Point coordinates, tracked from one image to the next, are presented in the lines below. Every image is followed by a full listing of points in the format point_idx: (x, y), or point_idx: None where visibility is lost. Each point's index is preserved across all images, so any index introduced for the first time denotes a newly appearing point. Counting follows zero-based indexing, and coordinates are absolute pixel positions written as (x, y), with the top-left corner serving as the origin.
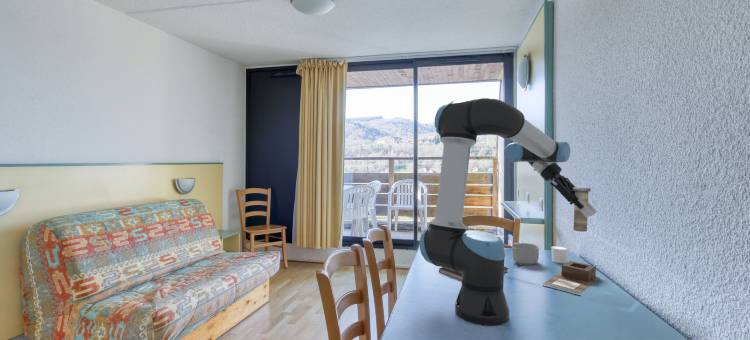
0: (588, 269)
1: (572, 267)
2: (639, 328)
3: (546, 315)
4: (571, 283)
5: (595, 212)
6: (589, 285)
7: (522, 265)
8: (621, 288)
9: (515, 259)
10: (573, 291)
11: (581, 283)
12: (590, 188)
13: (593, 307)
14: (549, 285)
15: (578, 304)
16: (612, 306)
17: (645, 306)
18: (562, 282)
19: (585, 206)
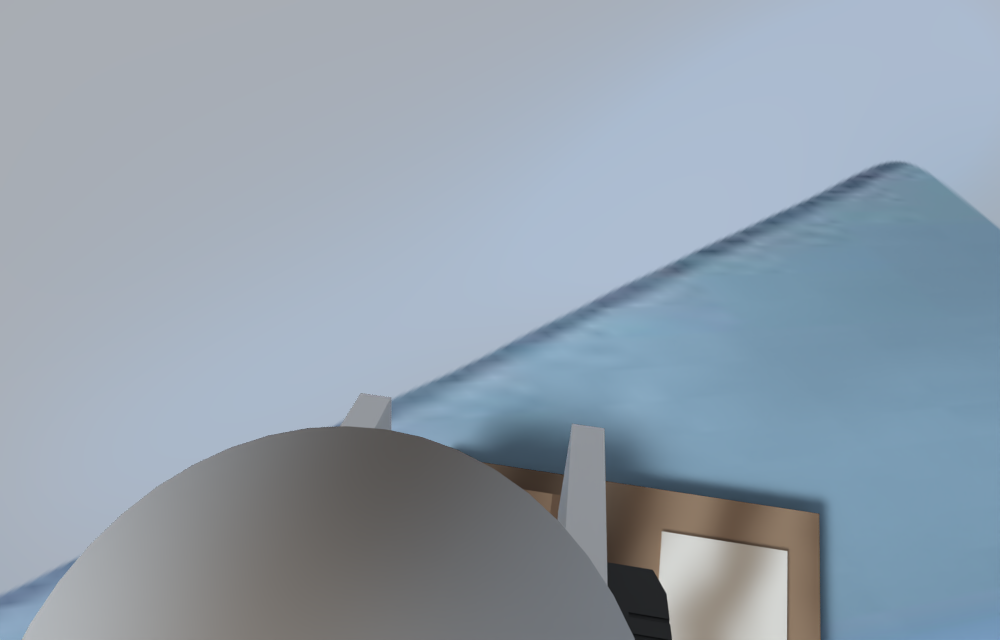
0: (543, 504)
1: None
2: (993, 266)
3: None
4: (690, 581)
5: (390, 418)
6: (639, 488)
7: None
8: (516, 353)
9: None
10: (816, 548)
11: (634, 531)
12: (274, 438)
13: (915, 435)
14: None
15: (936, 501)
16: (827, 366)
17: (710, 256)
18: (712, 633)
19: (602, 537)
